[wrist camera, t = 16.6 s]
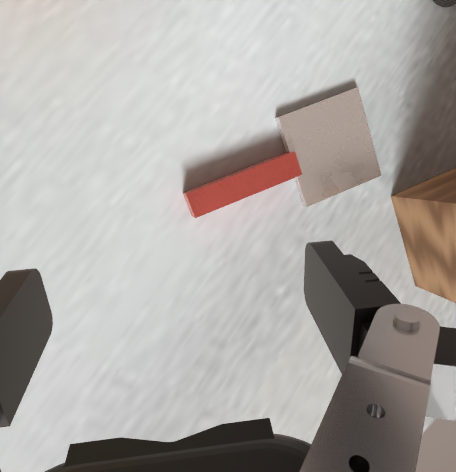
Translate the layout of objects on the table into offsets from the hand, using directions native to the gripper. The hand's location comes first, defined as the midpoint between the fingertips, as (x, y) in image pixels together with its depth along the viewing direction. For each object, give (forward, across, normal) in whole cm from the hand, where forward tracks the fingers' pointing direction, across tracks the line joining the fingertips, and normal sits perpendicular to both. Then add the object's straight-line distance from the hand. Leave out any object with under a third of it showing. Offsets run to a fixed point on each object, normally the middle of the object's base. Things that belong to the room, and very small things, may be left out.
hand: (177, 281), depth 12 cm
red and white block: (+31, -10, +6) cm, 33 cm away
